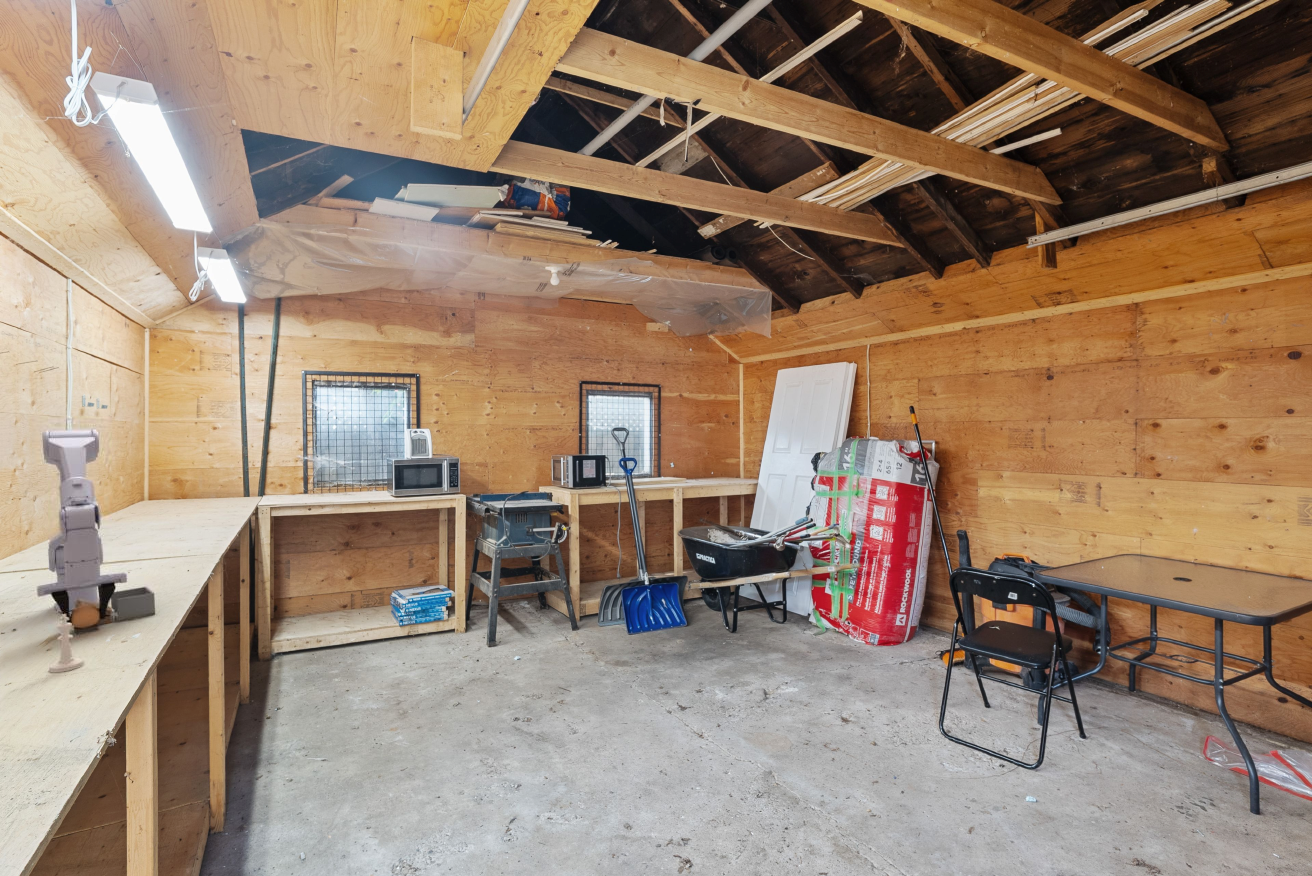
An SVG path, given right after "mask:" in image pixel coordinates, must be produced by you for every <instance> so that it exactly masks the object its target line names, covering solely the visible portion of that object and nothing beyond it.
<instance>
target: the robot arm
mask: <svg viewBox="0 0 1312 876" xmlns="http://www.w3.org/2000/svg"><path fill="white" fill-rule="evenodd" d="M41 435H42V436H41V437H42V452H43V453H42V454H43V457H44V460H45V463H46V464H51V465H54V466H56V468H57V470H58V472H59V475H60V477H59V478H60V484H59V487H58V488H59V499H60V501H59V502H60V508H59V510H58V518H59V521H58V522H59V529H60V533H58V534H56V535H55V536H53V537H52V538H50V540H49V542H48V548H47V553H48V555H47V556H48V567H49V568H48V569H49V571H51V572H52V573H55V574H56V579H57V580H56V581H57V582H52V583H47V584H42V585H37V586H36V595H37V597H45V596H48V595H50V596H51V597H52V599H53V601H54V603H53V606H54V607H55V609H56V610H57V613H61V615H62V614H66V617H68V618H69V620H67V623H71V619H70V615H71V613H70V611H73V610H75V602H76V601H77V599H83V600H88V601H93V602H98V603H99V611H100V619H105V614H106V609H107V606H108V604H109V603H110V602H111V596H112V595H113V593H114V592H116V586H117V585H116V584H124V583H125V584H126V583H127V582H128V578H127V577H128V576H127V575H128V574H127V572H119V573H111V574H103V575H102V574H101V565H102V564H103V563H104V552H103V551H104V550H103V549H104V548H103V543H102V537H101V536H100V534H99V530H100V527H101V519H102V518H101V511H100V510H101V509H100V507H99V504H98V499H96V496H95V495H96V494H95V487H94V483H93V481H92V480H91V479H88V478H87V477H86V474H87V469H86V468H87V464H88V463H92V462H94V461H96V460H97V458H98V454H99V453H100V437H99V432H98V430H96V429H95V428H91V429H69V430H67V429H65V430H63V429H62V430H49V429H46V430H44V431H43V432H42V434H41ZM96 525H97V528H96Z"/></svg>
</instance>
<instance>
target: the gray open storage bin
mask: <svg viewBox="0 0 1312 876" xmlns="http://www.w3.org/2000/svg"><path fill="white" fill-rule="evenodd" d="M155 604H156V603H155V592H154V591H152V590H151V589H150V588H149V587H147V586H142V587H136V588H130V589H124V590H118V591H114V593H113V595H112V596H111V599H110V607H111V608H112V609H113V610H114V615H115V622H121V621H126V620H132V619H137V618H143V617H148V616H153V615H156V607H155V606H156V605H155Z"/></svg>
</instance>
